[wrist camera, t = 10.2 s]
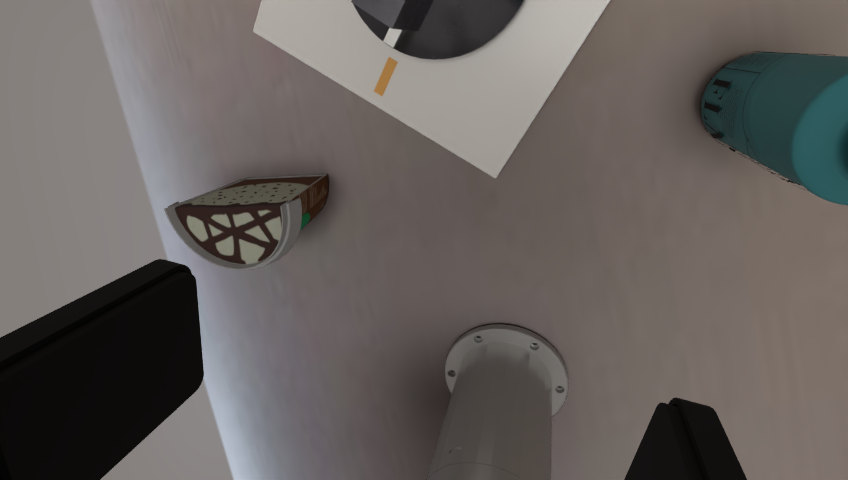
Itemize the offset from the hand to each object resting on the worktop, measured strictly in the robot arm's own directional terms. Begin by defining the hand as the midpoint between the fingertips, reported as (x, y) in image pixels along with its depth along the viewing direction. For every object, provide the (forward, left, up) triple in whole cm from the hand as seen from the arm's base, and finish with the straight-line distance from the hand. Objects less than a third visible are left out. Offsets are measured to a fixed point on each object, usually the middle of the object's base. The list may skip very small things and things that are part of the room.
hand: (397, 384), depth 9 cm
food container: (-18, +15, -32) cm, 40 cm away
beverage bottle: (+10, -13, -32) cm, 36 cm away
